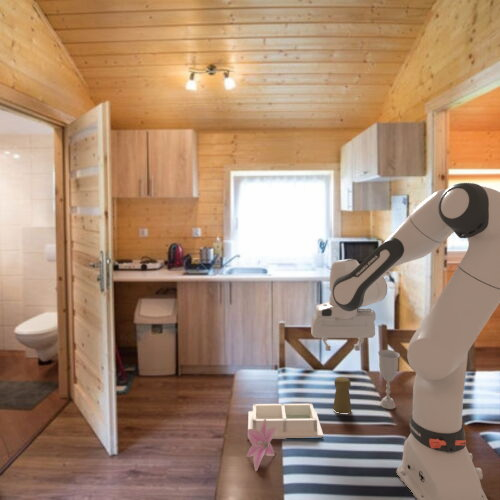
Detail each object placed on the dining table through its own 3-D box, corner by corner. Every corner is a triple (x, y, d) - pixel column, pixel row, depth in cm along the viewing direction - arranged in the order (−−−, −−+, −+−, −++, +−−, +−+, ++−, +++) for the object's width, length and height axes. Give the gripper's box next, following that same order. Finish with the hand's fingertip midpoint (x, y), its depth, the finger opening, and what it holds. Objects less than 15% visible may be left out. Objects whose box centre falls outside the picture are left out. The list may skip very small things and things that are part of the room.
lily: (249, 445, 114) (235, 424, 111) (287, 431, 113) (274, 409, 109) (253, 484, 104) (238, 462, 100) (294, 469, 102) (281, 446, 98)
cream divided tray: (323, 438, 115) (323, 423, 115) (247, 439, 116) (247, 424, 115) (315, 413, 129) (315, 400, 129) (248, 414, 130) (248, 401, 129)
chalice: (401, 410, 130) (403, 357, 128) (380, 410, 130) (382, 358, 128) (394, 399, 138) (395, 349, 136) (374, 400, 138) (375, 349, 136)
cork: (350, 406, 134) (350, 374, 133) (353, 415, 128) (353, 382, 127) (332, 405, 134) (332, 374, 133) (333, 414, 128) (334, 382, 127)
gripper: (372, 306, 130) (371, 346, 132) (310, 306, 131) (310, 346, 132) (378, 311, 124) (377, 353, 126) (313, 311, 124) (312, 353, 126)
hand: (342, 350), depth 129 cm, fingers open, 8 cm apart
